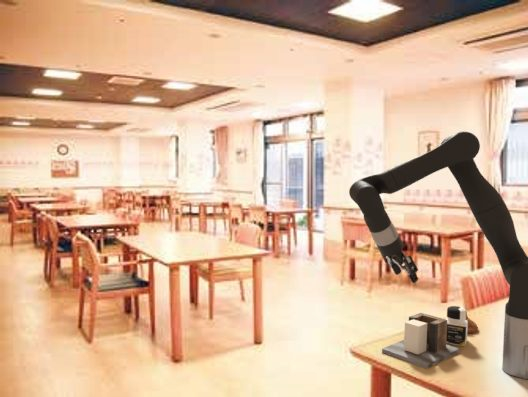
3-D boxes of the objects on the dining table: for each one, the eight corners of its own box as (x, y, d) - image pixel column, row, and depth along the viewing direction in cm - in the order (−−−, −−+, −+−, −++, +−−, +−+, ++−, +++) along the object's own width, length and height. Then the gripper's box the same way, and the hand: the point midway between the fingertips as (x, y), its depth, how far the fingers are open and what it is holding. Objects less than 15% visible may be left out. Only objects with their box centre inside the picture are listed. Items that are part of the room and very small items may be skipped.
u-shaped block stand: (426, 368, 142) (428, 334, 141) (382, 352, 154) (383, 320, 153) (459, 352, 155) (460, 320, 154) (415, 338, 167) (416, 309, 166)
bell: (449, 321, 186) (450, 303, 186) (482, 328, 178) (482, 309, 178) (439, 329, 177) (440, 310, 177) (472, 337, 169) (473, 317, 169)
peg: (417, 354, 148) (418, 326, 148) (403, 349, 152) (404, 322, 151) (426, 350, 151) (427, 323, 151) (412, 346, 155) (413, 319, 155)
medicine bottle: (442, 342, 163) (444, 308, 162) (445, 336, 169) (446, 303, 168) (465, 346, 159) (466, 311, 159) (467, 340, 166) (468, 306, 165)
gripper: (409, 235, 140) (430, 276, 145) (381, 225, 153) (401, 263, 158) (391, 250, 138) (412, 291, 144) (364, 239, 152) (385, 277, 157)
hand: (406, 277), depth 151 cm, fingers open, 8 cm apart
